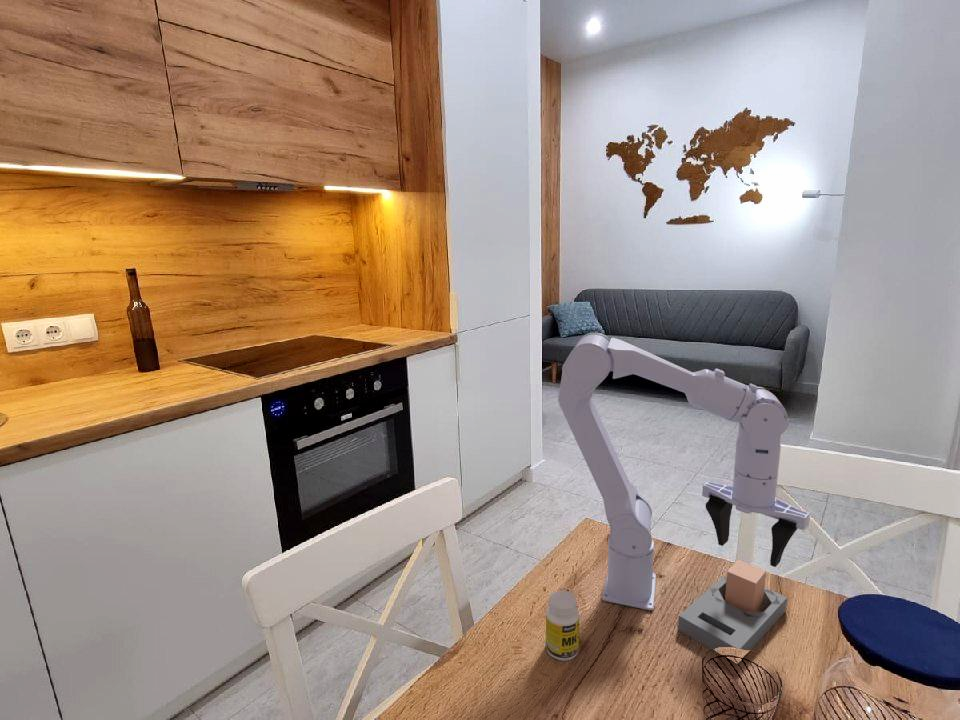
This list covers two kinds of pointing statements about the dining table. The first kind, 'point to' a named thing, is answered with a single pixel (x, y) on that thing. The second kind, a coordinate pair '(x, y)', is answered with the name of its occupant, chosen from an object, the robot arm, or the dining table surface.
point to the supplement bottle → (562, 626)
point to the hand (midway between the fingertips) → (748, 552)
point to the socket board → (729, 619)
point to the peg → (745, 587)
